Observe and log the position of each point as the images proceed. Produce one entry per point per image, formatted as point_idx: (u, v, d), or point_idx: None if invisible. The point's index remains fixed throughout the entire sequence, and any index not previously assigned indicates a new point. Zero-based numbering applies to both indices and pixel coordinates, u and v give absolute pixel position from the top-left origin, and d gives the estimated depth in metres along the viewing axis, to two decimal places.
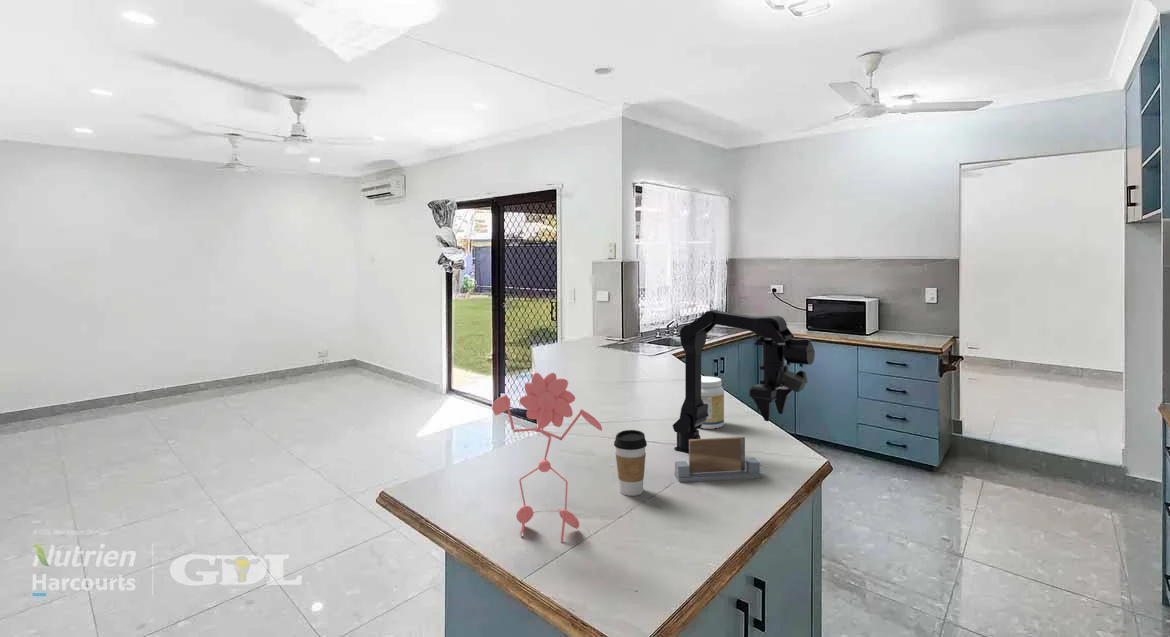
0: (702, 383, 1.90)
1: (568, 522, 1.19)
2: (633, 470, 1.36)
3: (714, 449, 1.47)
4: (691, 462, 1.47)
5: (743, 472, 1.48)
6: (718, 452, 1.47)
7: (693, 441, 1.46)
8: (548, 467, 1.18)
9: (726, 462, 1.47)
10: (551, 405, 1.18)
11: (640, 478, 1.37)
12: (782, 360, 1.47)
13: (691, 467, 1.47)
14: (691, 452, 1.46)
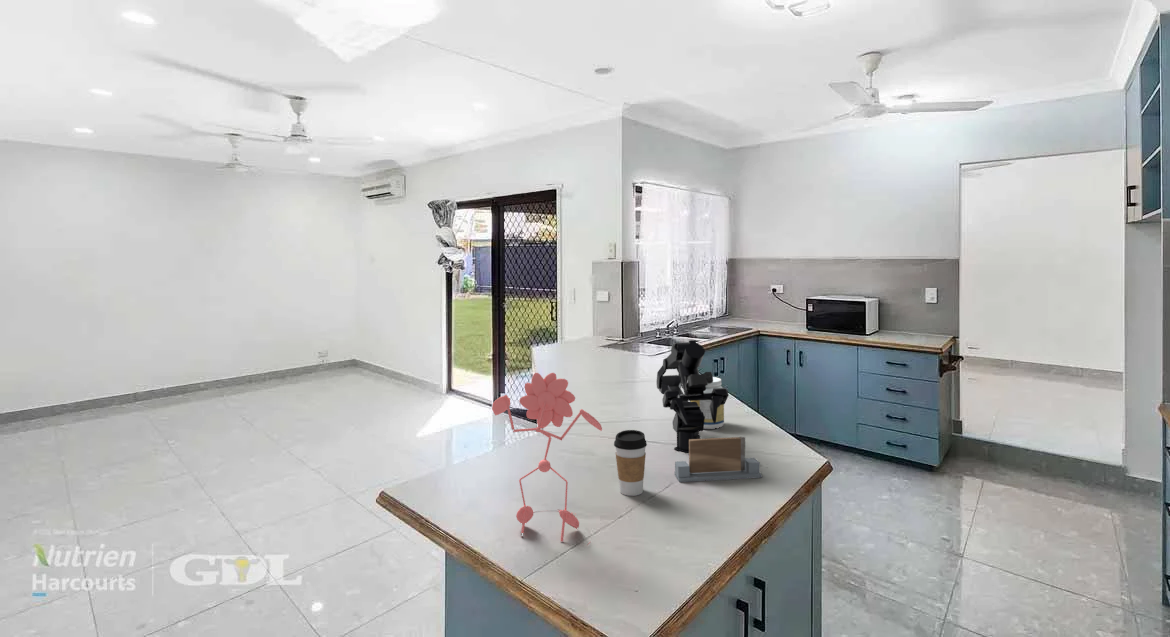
0: None
1: (568, 522, 1.19)
2: (633, 470, 1.36)
3: (714, 449, 1.47)
4: (691, 462, 1.47)
5: (743, 472, 1.48)
6: (718, 452, 1.47)
7: (693, 441, 1.46)
8: (548, 467, 1.18)
9: (726, 462, 1.47)
10: (551, 405, 1.18)
11: (640, 478, 1.37)
12: (690, 370, 1.63)
13: (691, 467, 1.47)
14: (691, 452, 1.46)
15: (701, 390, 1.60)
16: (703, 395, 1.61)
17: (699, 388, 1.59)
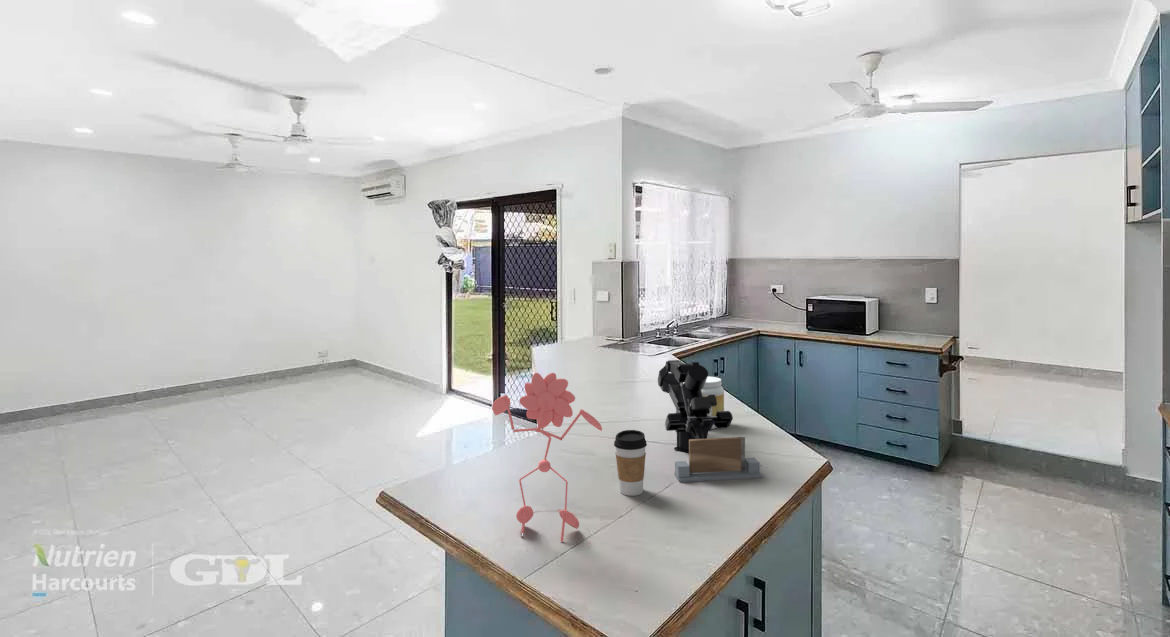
0: None
1: (568, 522, 1.19)
2: (633, 470, 1.36)
3: (714, 449, 1.47)
4: (691, 462, 1.47)
5: (743, 472, 1.48)
6: (718, 452, 1.47)
7: (693, 441, 1.46)
8: (548, 467, 1.18)
9: (726, 462, 1.47)
10: (551, 405, 1.18)
11: (640, 478, 1.37)
12: (693, 392, 1.60)
13: (691, 467, 1.47)
14: (691, 452, 1.46)
15: (705, 413, 1.56)
16: None
17: (703, 411, 1.56)
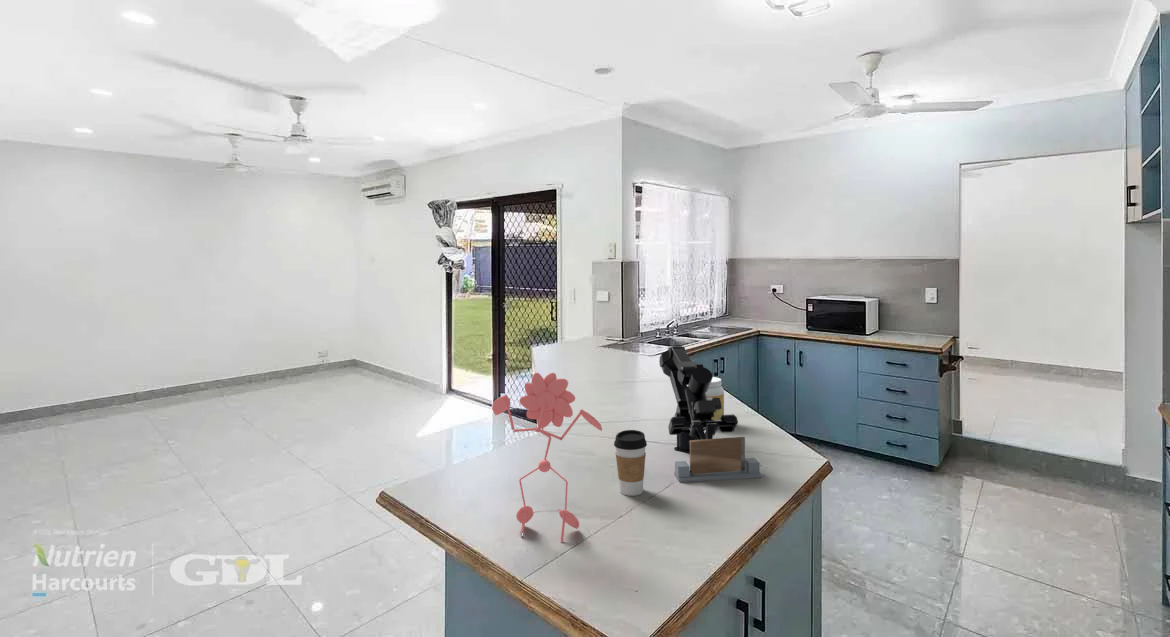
0: None
1: (568, 522, 1.19)
2: (633, 470, 1.36)
3: (714, 450, 1.46)
4: (692, 463, 1.46)
5: (743, 472, 1.48)
6: (719, 452, 1.47)
7: (694, 442, 1.45)
8: (548, 467, 1.18)
9: (726, 462, 1.47)
10: (551, 405, 1.18)
11: (640, 478, 1.37)
12: (697, 395, 1.56)
13: (692, 468, 1.46)
14: (692, 453, 1.46)
15: (709, 417, 1.52)
16: (711, 422, 1.53)
17: (707, 415, 1.52)
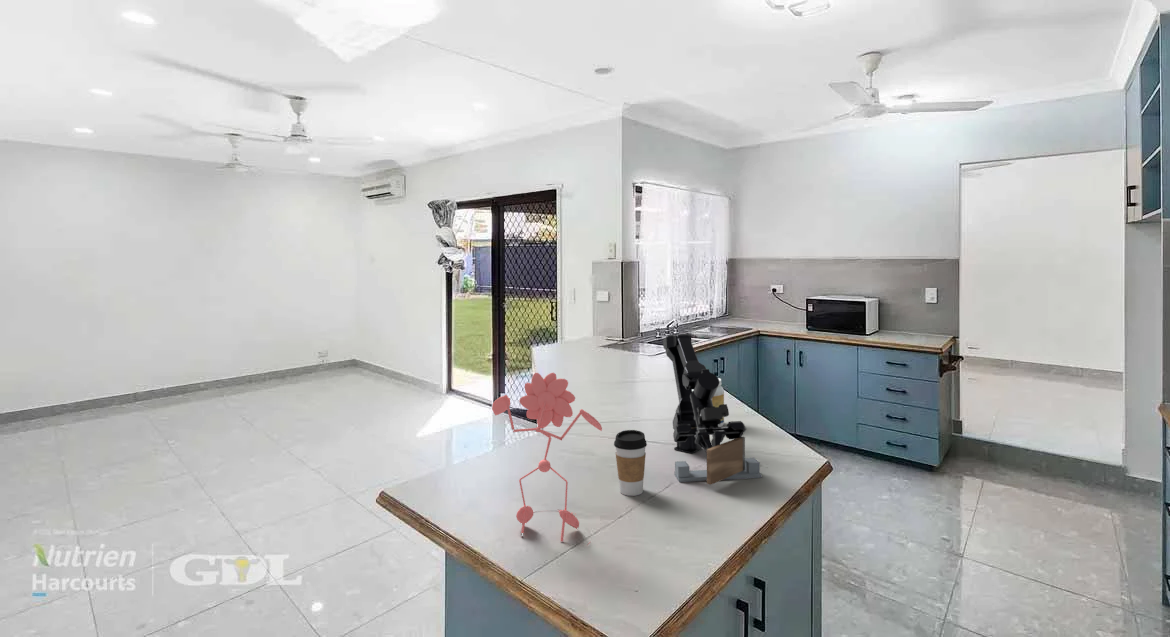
0: None
1: (568, 522, 1.19)
2: (633, 470, 1.36)
3: (726, 454, 1.42)
4: (711, 473, 1.39)
5: (743, 472, 1.48)
6: (728, 456, 1.43)
7: (712, 450, 1.39)
8: (548, 467, 1.18)
9: (733, 465, 1.45)
10: (551, 405, 1.18)
11: (640, 478, 1.37)
12: (702, 401, 1.50)
13: (711, 478, 1.39)
14: (711, 462, 1.39)
15: (715, 424, 1.47)
16: (718, 429, 1.48)
17: (713, 422, 1.47)
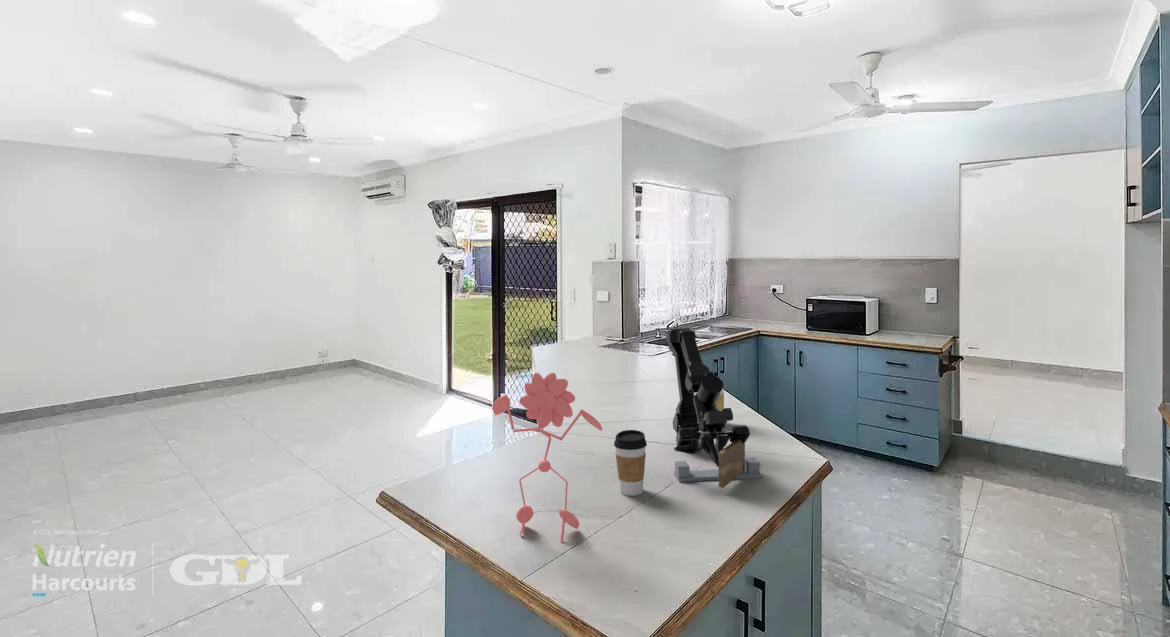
0: None
1: (568, 522, 1.19)
2: (633, 470, 1.36)
3: (733, 456, 1.41)
4: (723, 476, 1.36)
5: (743, 472, 1.48)
6: (734, 458, 1.42)
7: (724, 453, 1.37)
8: (548, 467, 1.18)
9: (737, 466, 1.44)
10: (551, 405, 1.18)
11: (640, 478, 1.37)
12: (706, 405, 1.47)
13: (723, 481, 1.37)
14: (723, 465, 1.36)
15: (719, 428, 1.43)
16: None
17: (717, 426, 1.43)
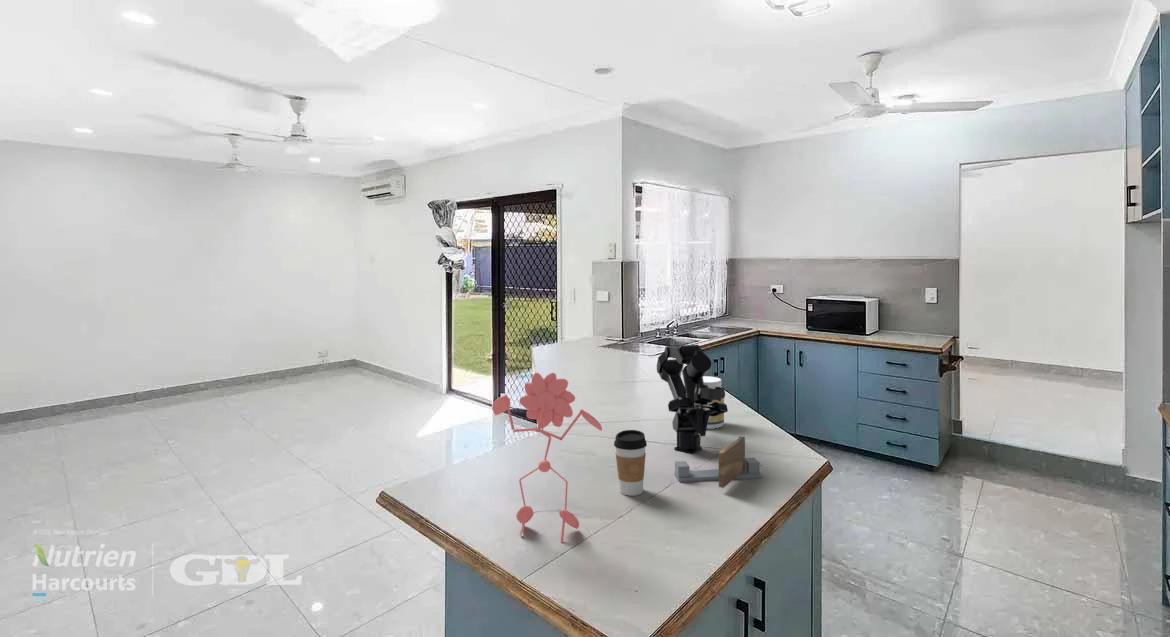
0: None
1: (568, 522, 1.19)
2: (633, 470, 1.36)
3: (733, 456, 1.41)
4: (723, 476, 1.36)
5: (743, 472, 1.48)
6: (734, 458, 1.42)
7: (724, 453, 1.37)
8: (548, 467, 1.18)
9: (737, 466, 1.44)
10: (551, 405, 1.18)
11: (640, 478, 1.37)
12: (694, 379, 1.60)
13: (723, 481, 1.37)
14: (723, 465, 1.36)
15: (707, 402, 1.58)
16: None
17: (706, 400, 1.58)
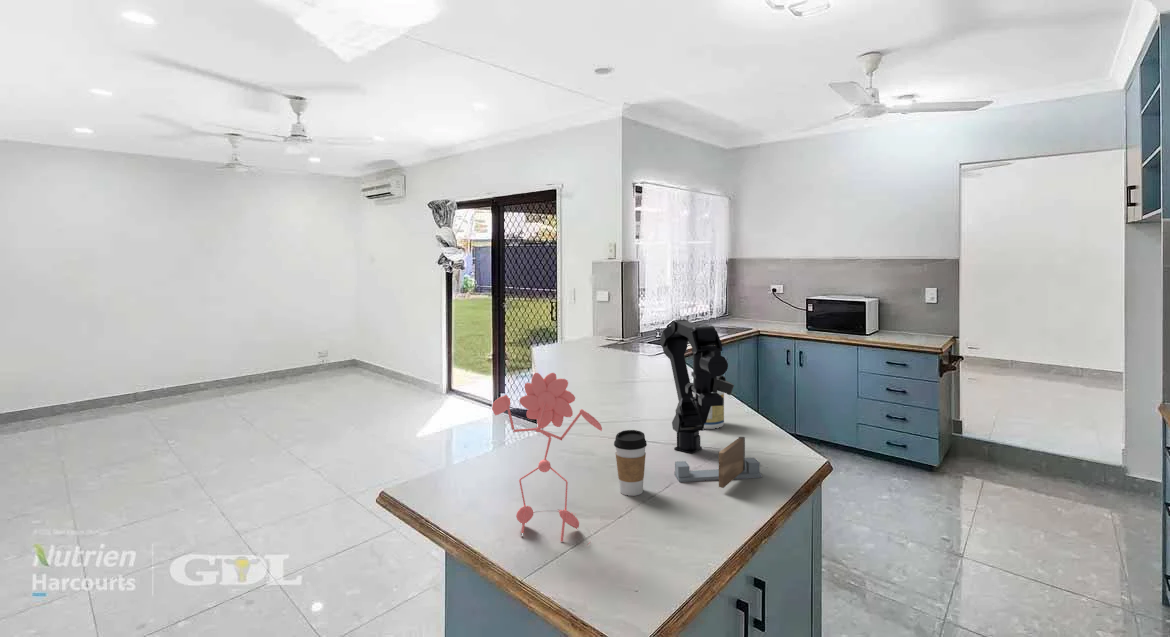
0: None
1: (568, 522, 1.19)
2: (633, 470, 1.36)
3: (733, 456, 1.41)
4: (723, 476, 1.36)
5: (743, 472, 1.48)
6: (734, 458, 1.42)
7: (724, 453, 1.37)
8: (548, 467, 1.18)
9: (737, 466, 1.44)
10: (551, 405, 1.18)
11: (640, 478, 1.37)
12: None
13: (723, 481, 1.37)
14: (723, 465, 1.36)
15: None
16: None
17: None
